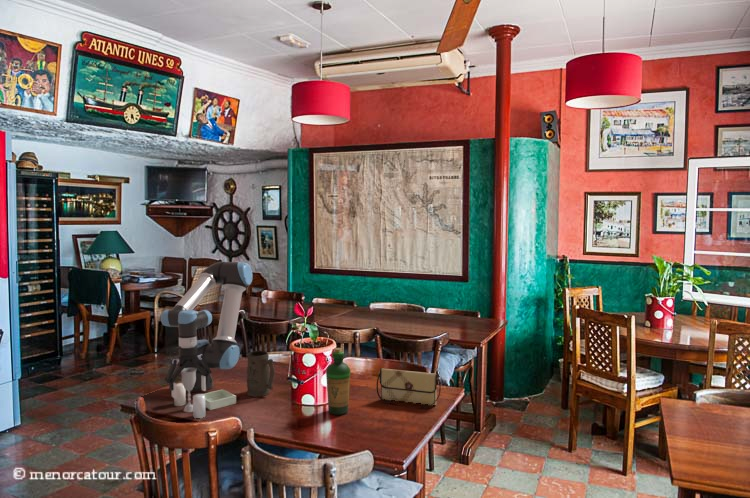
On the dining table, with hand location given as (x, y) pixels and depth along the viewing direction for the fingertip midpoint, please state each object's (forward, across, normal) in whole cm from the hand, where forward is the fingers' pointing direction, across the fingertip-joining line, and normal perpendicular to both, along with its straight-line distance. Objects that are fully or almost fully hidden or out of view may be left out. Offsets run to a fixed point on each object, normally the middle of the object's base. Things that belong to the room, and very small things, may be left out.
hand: (189, 393), depth 241 cm
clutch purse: (+8, +76, -60) cm, 97 cm away
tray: (+7, +13, 0) cm, 15 cm away
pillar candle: (+7, 0, -10) cm, 12 cm away
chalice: (+8, 0, 0) cm, 8 cm away
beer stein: (+8, +35, -3) cm, 36 cm away
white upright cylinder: (+7, 0, +10) cm, 12 cm away
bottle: (+8, +47, -46) cm, 66 cm away
